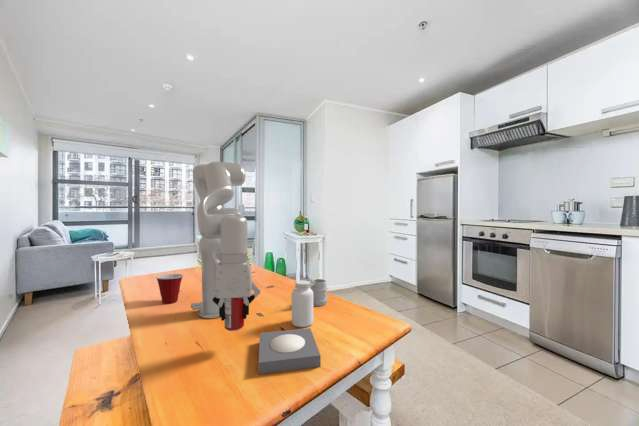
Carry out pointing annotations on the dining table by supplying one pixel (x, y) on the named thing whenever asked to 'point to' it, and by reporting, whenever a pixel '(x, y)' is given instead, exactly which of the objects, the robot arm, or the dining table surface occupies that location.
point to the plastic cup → (169, 287)
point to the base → (287, 351)
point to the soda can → (234, 313)
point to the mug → (319, 292)
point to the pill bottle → (302, 304)
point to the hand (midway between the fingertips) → (234, 317)
